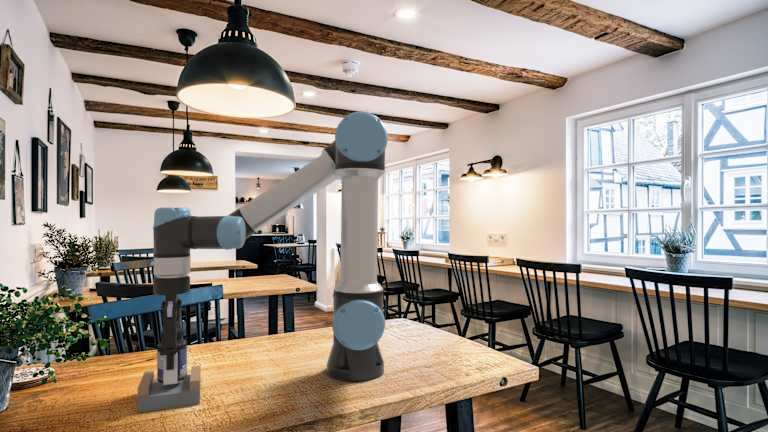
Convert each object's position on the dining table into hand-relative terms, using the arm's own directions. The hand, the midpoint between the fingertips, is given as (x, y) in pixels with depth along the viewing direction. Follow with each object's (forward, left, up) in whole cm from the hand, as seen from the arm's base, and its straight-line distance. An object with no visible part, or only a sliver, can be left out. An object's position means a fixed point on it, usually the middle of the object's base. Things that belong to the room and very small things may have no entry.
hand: (171, 378), depth 102 cm
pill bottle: (0, 0, -1) cm, 1 cm away
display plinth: (0, 0, -4) cm, 4 cm away
